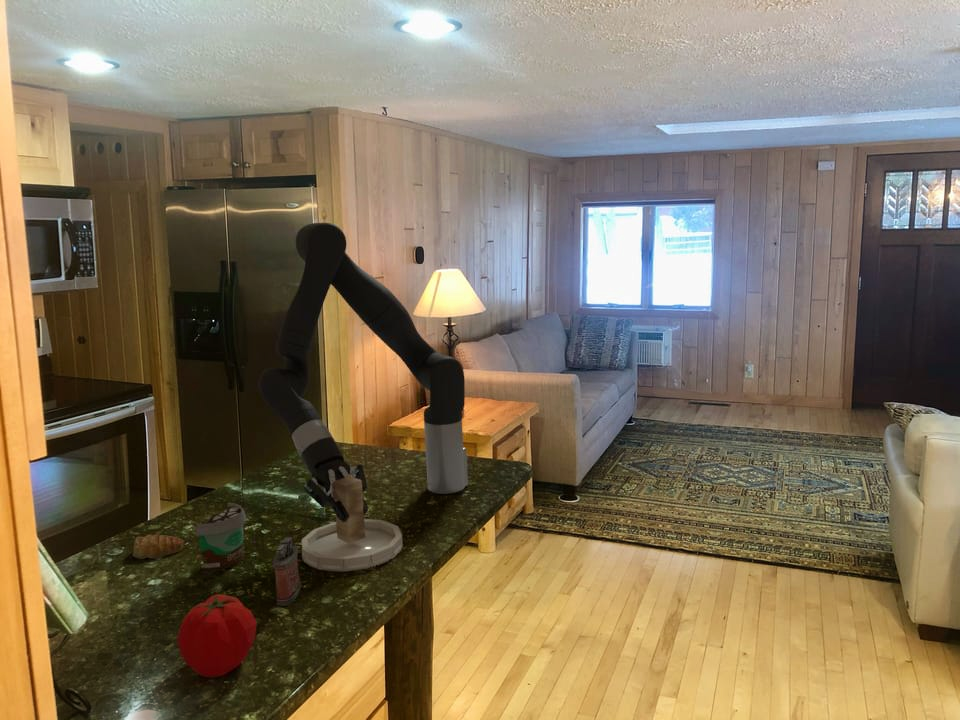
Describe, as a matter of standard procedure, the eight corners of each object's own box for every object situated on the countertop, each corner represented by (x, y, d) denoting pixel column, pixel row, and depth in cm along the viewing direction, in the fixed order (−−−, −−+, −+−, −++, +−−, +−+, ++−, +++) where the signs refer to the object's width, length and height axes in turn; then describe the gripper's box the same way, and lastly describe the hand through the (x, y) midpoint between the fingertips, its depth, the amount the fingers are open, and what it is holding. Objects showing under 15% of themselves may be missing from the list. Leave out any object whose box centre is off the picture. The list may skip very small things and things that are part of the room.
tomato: (172, 694, 108) (164, 627, 106) (190, 647, 120) (183, 586, 118) (254, 684, 109) (248, 618, 108) (263, 638, 122) (258, 578, 120)
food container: (230, 576, 144) (224, 526, 143) (200, 574, 145) (195, 525, 144) (261, 549, 156) (256, 502, 154) (233, 548, 157) (228, 501, 156)
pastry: (186, 543, 161) (184, 526, 161) (181, 556, 155) (179, 539, 154) (138, 549, 159) (136, 532, 158) (132, 563, 153) (129, 545, 152)
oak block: (353, 532, 157) (349, 476, 155) (365, 537, 154) (361, 480, 152) (337, 538, 154) (333, 481, 152) (349, 543, 151) (345, 485, 149)
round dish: (362, 522, 168) (362, 511, 168) (422, 546, 154) (421, 534, 154) (282, 552, 154) (281, 540, 154) (340, 581, 140) (339, 568, 140)
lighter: (285, 584, 140) (281, 532, 138) (304, 583, 140) (299, 532, 138) (272, 605, 132) (267, 551, 131) (292, 605, 132) (287, 550, 130)
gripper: (292, 444, 151) (332, 517, 144) (351, 429, 161) (391, 497, 154) (280, 465, 155) (319, 536, 149) (338, 449, 165) (376, 515, 159)
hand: (355, 516), depth 152 cm, fingers closed on oak block, 4 cm apart
